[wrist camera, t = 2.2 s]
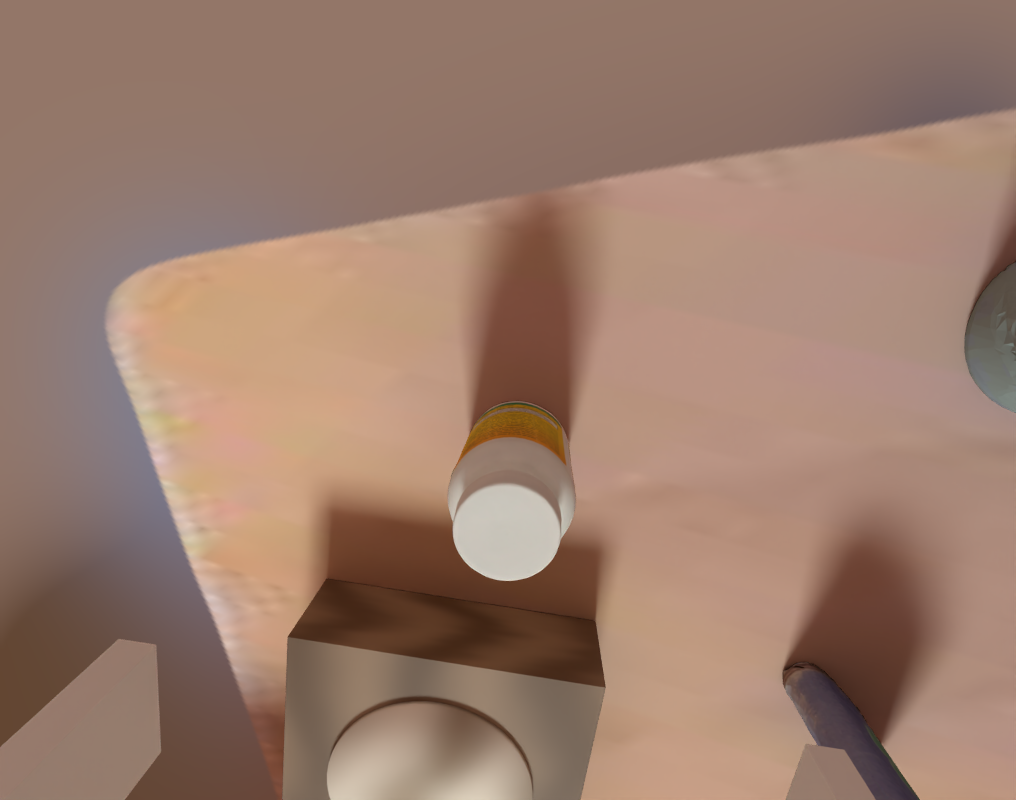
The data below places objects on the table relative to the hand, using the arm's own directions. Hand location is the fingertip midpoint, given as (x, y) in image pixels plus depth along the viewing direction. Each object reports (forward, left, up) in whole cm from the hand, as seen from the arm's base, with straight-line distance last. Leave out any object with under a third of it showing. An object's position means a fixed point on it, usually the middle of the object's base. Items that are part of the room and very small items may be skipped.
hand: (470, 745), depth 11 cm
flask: (-21, +14, -19) cm, 31 cm away
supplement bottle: (0, 0, -19) cm, 19 cm away
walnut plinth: (+2, +18, -18) cm, 26 cm away
